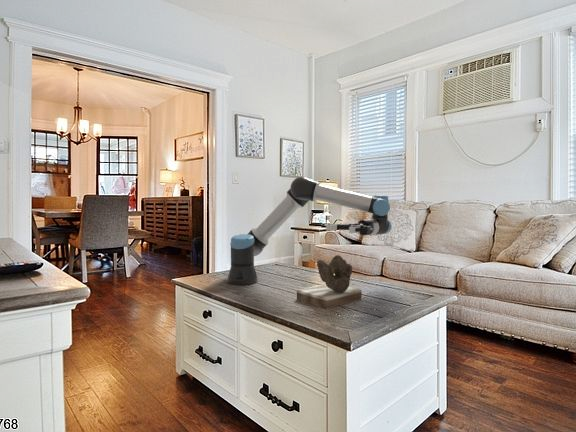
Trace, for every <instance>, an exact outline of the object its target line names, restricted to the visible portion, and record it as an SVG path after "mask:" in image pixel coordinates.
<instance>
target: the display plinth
mask: <svg viewBox="0 0 576 432" xmlns="http://www.w3.org/2000/svg"><path fill="white" fill-rule="evenodd" d="M296 300H297V301H301V302H303V303H307V304H311V305H314V306H317V307H320V308H323V309H331V308H334V307H337V306H341V305H345V304H349V303H352V302H356V301H359V300H362V289H359V288H357V287H351V286H349V287H348V289H347V290H346V291H345V292H343V293H339V292H336V291H334V290H332V289H330V288H328V287H327V285H326V283H324V284H319V285H313V286H309V287H305V288H301V289H300V288H299V289H296Z"/></svg>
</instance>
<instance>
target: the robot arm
mask: <svg viewBox="0 0 576 432" xmlns="http://www.w3.org/2000/svg"><path fill="white" fill-rule="evenodd" d="M310 201H311V202H315V201H319V202H324V203H328V204H332V205H337V206H341V207H345V208H348V209H353V210H357V211H360V212H361V211H362V212H366V213H369V214H372V215H371V219H360V220H359V221H358V222H357V223H343V224H342V223H332V224H325V231H326V232H327V231H328V232H329V231H334V232H337V231H348V233H349V234H359V235H361V236H370V237H372V235H374V236H375V235H385V234H388V233H390V231H391V230H392V227H393V226H392V223H391V221H390V219H388V214H389V213H390V210H391V204H390V203H389V196H388V195H381V194H379V195H376V194H375V195H373V196H371V195H365V194H362V193H357V192H355V191H354V192H353V191H349V190H344V189H341V188H337V187H333V186H329V185H324V184H320V182H319V181H317V180H316V181H315V180H313V179H311V178H309V177H306V176H299V177H296V178H295V179H293V181H292V182H291V183H290V188H289V189H288V190H287V191H286V197H285V198H283V200H282V201H281V202H280V203H279V204H278V205H277V206H276V207H275V208H274V209H273V211H271V212H270V213H269V214H268V215H267V217H266V218H265V219H264V220H263V221H262V222H261V223H260V224H259V225H258V226H257V227H256V228H251V230H250V231H248V233H246V234H245V233H243V234H241V233H240V234H236V235H233V236H232V237H231V239H230V244H229V245H230V268H229V272H228V273H227V274H228V275H227V281H226V283H228V284H231V285H237V286H242V285H243V286H244V285H252V284H256V283H258V275H257V271H256V269H255V257H257V256H259V255H260V254H261V253H262V252H263V250H264V248H265V247H266V246H267V245H268V244H269V239H270V238H271V237H272V236H273V235H274V234H275V233H276V232H277V231H278V230H279V229H280V228H281V226H283V224H285V223H286V221H287V220H289V219H290V217H291V216H292V215H293V214H294V213H296V211H297V210H298V209H299V208H304V207H305V206H306V205H307V203H309V202H310Z"/></svg>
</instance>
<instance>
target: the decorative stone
mask: <svg viewBox="0 0 576 432" xmlns="http://www.w3.org/2000/svg"><path fill="white" fill-rule="evenodd" d="M316 264H317V271H318V274H319V276H320V279H321V281H322V282H324V283H325V284H326V285H327V287H328V288H330V289H332V290H334V291H336V292H339V293H343V292H345V291H346V290H347V289H348V287H350V281H351V280H350V279H351V276H352V274H353V267H352V264H349V263H347V261H346V260H345V259H344V258H343V257H342V256H341V255H339V254H338V255H337V254H336V255H335V256H333V258H332V259H331V260H330V263H326V262H325V261H323V260H321V259H319V260H317V262H316Z"/></svg>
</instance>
